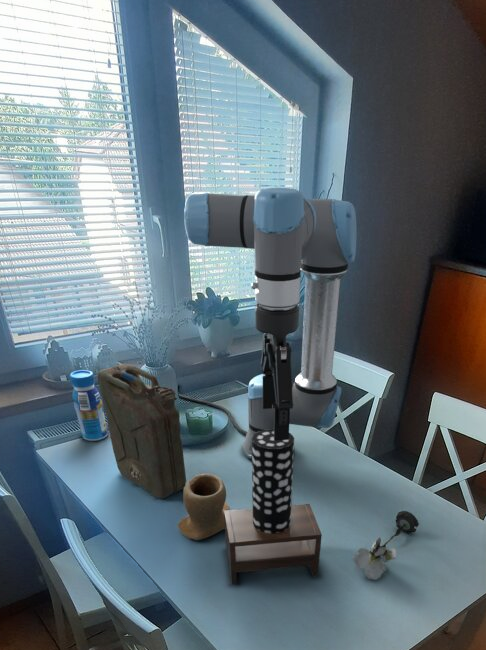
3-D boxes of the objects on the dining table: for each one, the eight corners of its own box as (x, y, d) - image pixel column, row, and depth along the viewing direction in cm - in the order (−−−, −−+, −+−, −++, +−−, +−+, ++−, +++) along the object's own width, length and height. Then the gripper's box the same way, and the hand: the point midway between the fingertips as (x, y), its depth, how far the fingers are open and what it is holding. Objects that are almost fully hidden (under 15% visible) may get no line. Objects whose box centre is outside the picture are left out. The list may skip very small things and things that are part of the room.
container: (114, 473, 151) (91, 369, 131) (142, 461, 157) (125, 359, 136) (162, 503, 140) (146, 395, 120) (191, 489, 145) (180, 383, 125)
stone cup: (199, 551, 125) (194, 499, 115) (172, 528, 132) (165, 477, 121) (248, 527, 133) (247, 476, 122) (220, 507, 139) (217, 457, 129)
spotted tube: (286, 535, 111) (290, 451, 97) (248, 530, 112) (247, 446, 98) (293, 514, 117) (297, 431, 103) (257, 509, 118) (257, 427, 104)
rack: (226, 551, 125) (223, 510, 117) (306, 544, 128) (309, 503, 120) (231, 584, 117) (229, 542, 108) (317, 575, 119) (321, 534, 111)
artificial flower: (421, 541, 132) (437, 517, 123) (368, 592, 121) (381, 569, 113) (394, 520, 134) (407, 495, 126) (340, 568, 124) (351, 544, 115)
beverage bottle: (76, 436, 167) (60, 374, 154) (97, 427, 172) (83, 366, 159) (93, 444, 164) (78, 381, 150) (114, 434, 169) (101, 373, 155)
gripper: (245, 285, 95) (247, 397, 110) (267, 329, 77) (266, 455, 92) (285, 284, 96) (282, 395, 111) (315, 327, 78) (307, 452, 93)
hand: (275, 423), depth 101 cm, fingers open, 13 cm apart
